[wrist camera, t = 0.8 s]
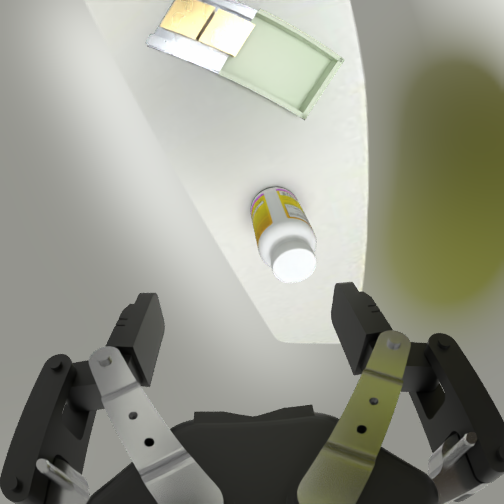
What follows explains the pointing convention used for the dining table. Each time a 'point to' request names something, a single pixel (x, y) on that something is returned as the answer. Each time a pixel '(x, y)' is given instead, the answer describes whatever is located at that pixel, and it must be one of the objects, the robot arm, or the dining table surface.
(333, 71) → the tray
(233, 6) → the slot rail
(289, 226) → the supplement bottle
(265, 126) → the dining table surface
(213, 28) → the brass block
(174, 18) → the brass block
